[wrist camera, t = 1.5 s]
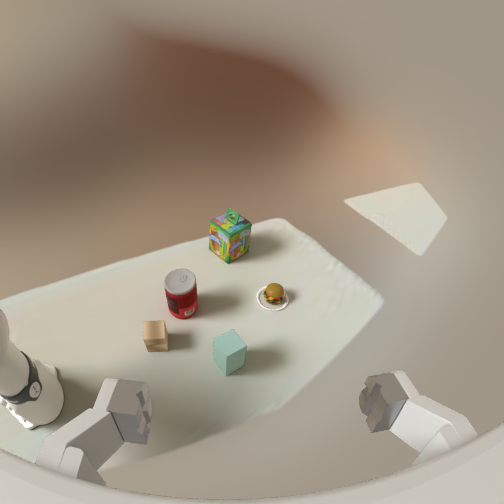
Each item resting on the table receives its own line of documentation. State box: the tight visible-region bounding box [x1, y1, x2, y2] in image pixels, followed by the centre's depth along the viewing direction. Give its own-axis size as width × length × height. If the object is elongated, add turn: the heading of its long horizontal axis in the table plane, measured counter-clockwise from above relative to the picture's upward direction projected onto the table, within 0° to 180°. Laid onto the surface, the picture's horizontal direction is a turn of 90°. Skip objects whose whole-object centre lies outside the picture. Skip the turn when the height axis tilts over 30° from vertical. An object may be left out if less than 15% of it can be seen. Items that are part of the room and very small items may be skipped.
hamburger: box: [257, 283, 289, 311], centre depth 80 cm, size 12×12×6 cm
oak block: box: [143, 320, 168, 352], centre depth 66 cm, size 5×5×6 cm
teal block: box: [213, 329, 247, 376], centre depth 63 cm, size 5×5×10 cm
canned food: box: [164, 269, 198, 319], centre depth 73 cm, size 8×8×11 cm
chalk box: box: [209, 208, 252, 264], centre depth 89 cm, size 9×9×15 cm
